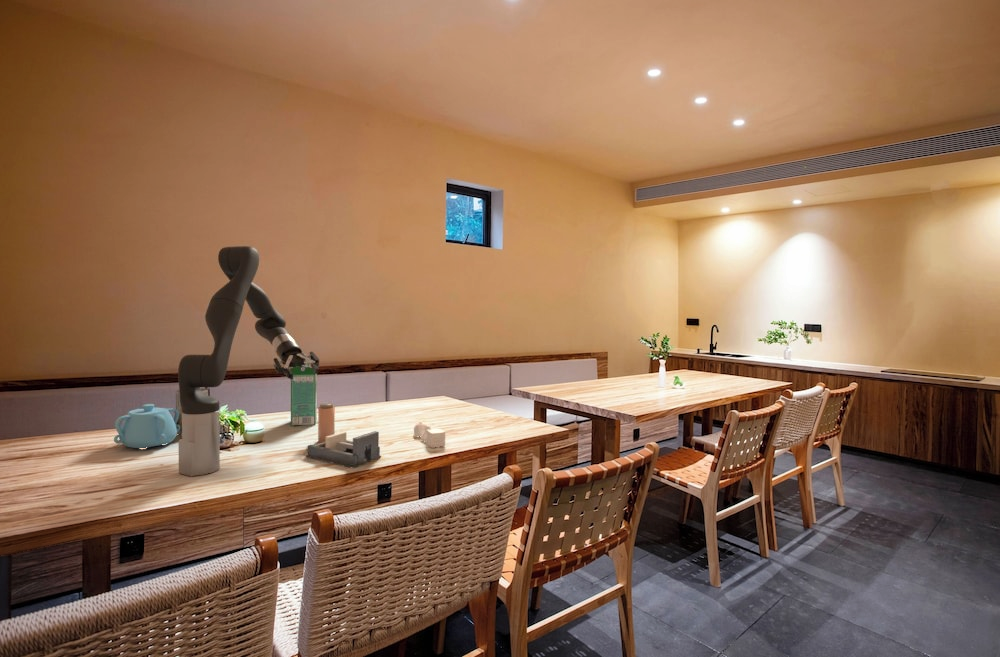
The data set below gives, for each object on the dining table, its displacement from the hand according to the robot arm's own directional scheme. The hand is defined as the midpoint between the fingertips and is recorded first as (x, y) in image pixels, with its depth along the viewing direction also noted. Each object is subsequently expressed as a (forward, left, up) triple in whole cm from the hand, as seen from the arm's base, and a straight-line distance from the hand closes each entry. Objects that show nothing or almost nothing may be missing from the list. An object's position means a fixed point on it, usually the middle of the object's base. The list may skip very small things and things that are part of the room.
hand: (304, 374), depth 170 cm
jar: (+7, -3, -24) cm, 25 cm away
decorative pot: (-27, +42, -24) cm, 55 cm away
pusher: (-3, -24, -23) cm, 33 cm away
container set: (+27, -32, -25) cm, 49 cm away
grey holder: (-3, -21, -24) cm, 32 cm away
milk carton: (+21, +24, -24) cm, 40 cm away
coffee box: (-11, +44, -24) cm, 51 cm away
